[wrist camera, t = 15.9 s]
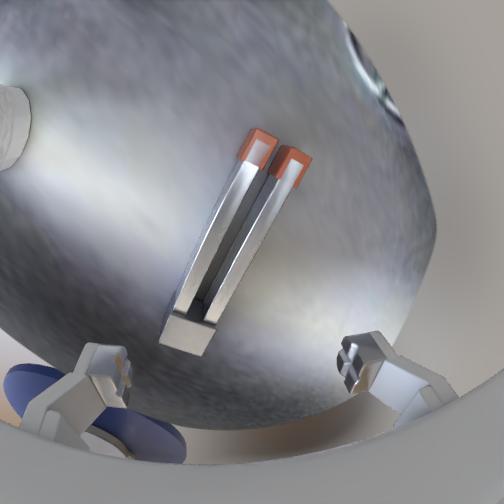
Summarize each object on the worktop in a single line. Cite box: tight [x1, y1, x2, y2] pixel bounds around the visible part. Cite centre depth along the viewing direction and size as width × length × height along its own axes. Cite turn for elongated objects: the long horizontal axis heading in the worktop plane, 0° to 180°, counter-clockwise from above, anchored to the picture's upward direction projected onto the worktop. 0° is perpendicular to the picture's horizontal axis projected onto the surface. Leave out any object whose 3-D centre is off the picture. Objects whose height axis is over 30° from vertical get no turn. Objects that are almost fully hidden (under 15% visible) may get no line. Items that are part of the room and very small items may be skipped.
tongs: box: [158, 128, 312, 356], centre depth 17 cm, size 16×4×3 cm, turn 152°
